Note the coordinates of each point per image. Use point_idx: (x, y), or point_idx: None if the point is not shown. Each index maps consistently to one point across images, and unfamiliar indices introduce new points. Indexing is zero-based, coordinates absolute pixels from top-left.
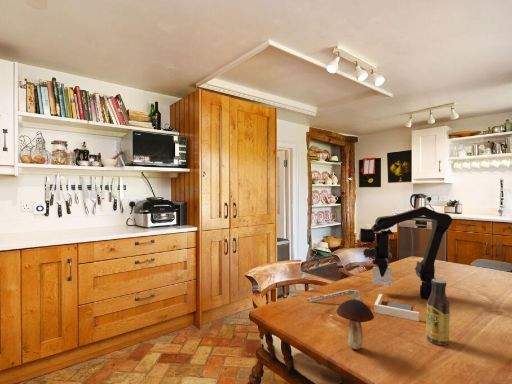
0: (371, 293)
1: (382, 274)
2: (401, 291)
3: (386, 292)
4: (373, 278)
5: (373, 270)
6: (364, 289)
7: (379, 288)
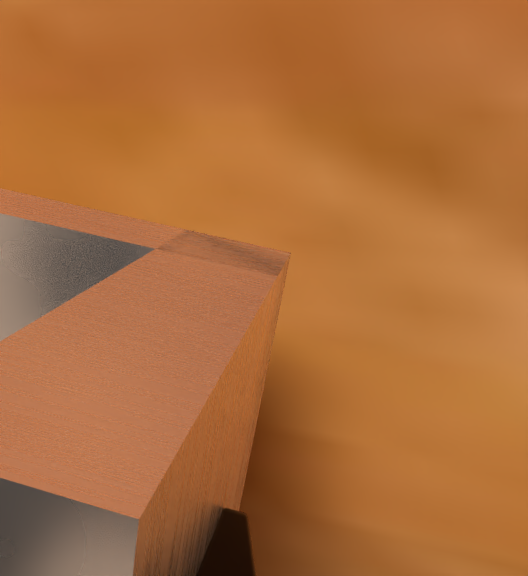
0: (209, 164)
1: None
2: (446, 564)
3: (337, 380)
4: (72, 252)
5: (5, 351)
6: (381, 43)
7: (515, 307)
